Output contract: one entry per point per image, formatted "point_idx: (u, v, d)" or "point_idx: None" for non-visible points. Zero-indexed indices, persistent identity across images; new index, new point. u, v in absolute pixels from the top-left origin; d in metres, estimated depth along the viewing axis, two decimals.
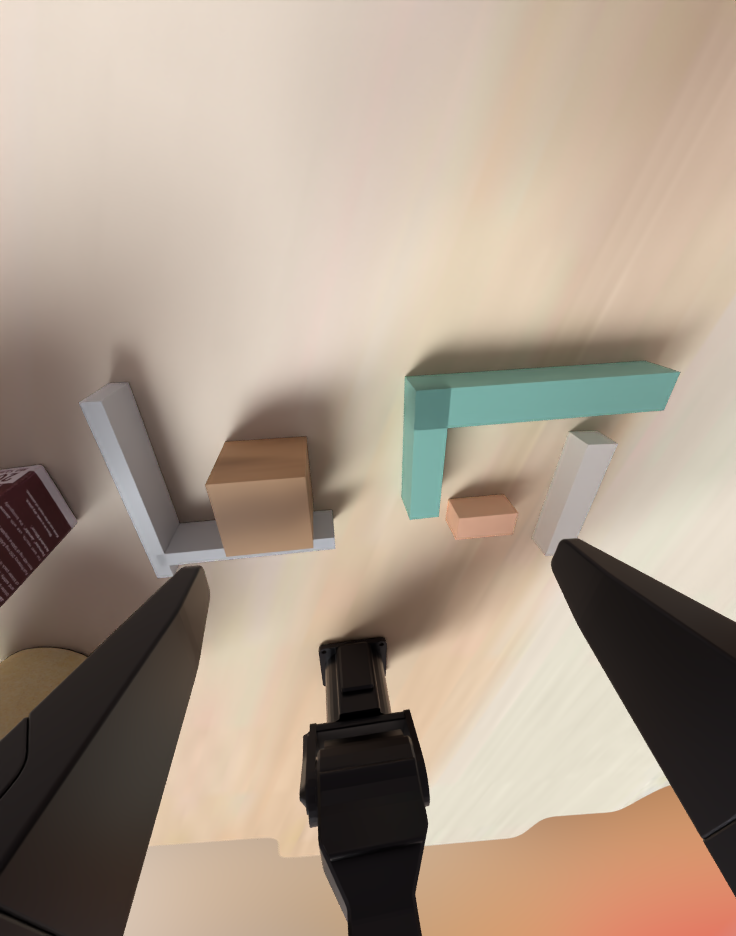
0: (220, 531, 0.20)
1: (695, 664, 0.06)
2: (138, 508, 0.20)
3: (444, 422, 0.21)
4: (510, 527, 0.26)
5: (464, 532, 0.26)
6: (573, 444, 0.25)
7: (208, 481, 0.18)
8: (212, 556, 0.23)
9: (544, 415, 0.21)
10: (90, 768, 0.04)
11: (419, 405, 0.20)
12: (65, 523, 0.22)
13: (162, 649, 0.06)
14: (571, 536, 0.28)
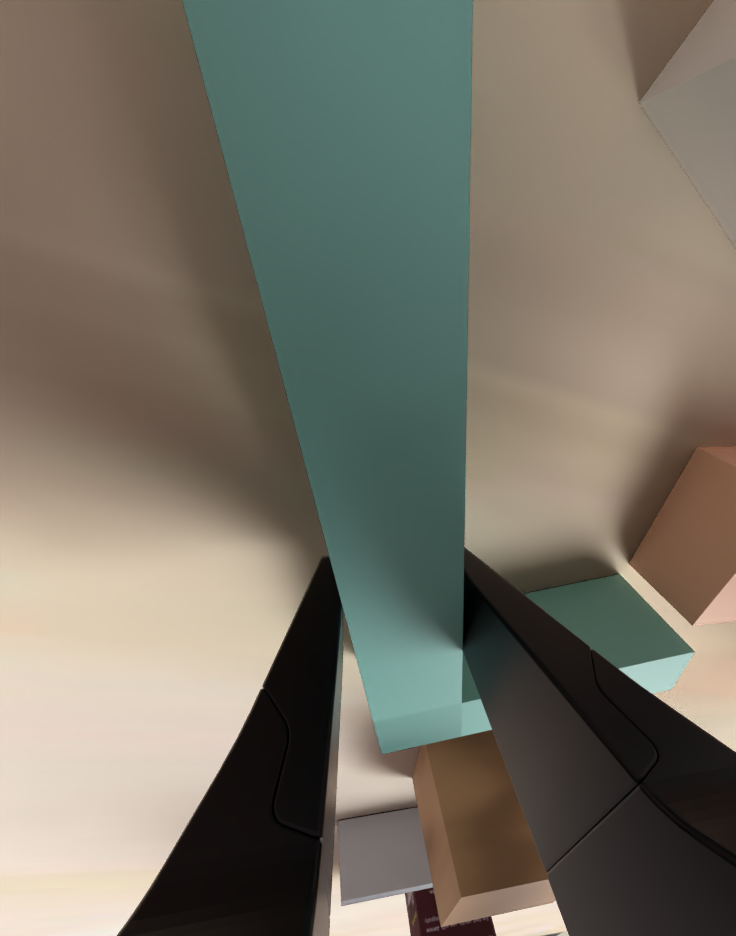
0: (511, 911, 0.15)
1: (532, 686, 0.06)
2: None
3: (448, 709, 0.10)
4: None
5: None
6: (705, 114, 0.05)
7: None
8: None
9: (447, 540, 0.06)
10: (332, 734, 0.05)
11: (410, 744, 0.10)
12: None
13: (341, 630, 0.06)
14: None
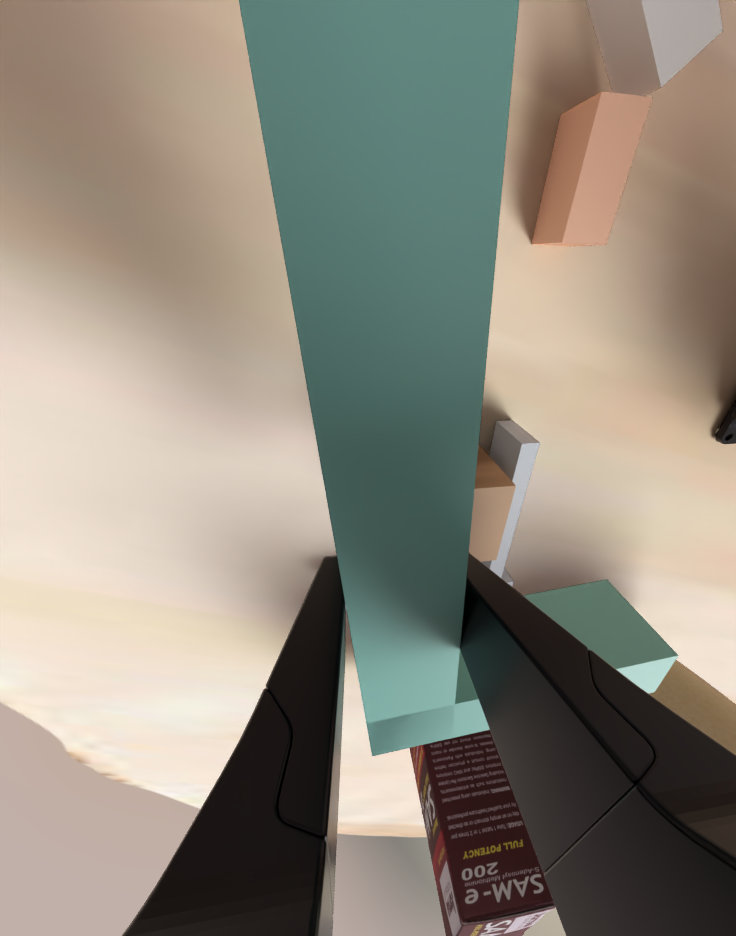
0: None
1: (529, 686, 0.06)
2: None
3: (440, 711, 0.10)
4: (631, 108, 0.13)
5: (596, 227, 0.14)
6: None
7: None
8: (502, 553, 0.22)
9: (453, 540, 0.06)
10: (336, 734, 0.05)
11: (401, 745, 0.10)
12: None
13: (343, 630, 0.06)
14: None
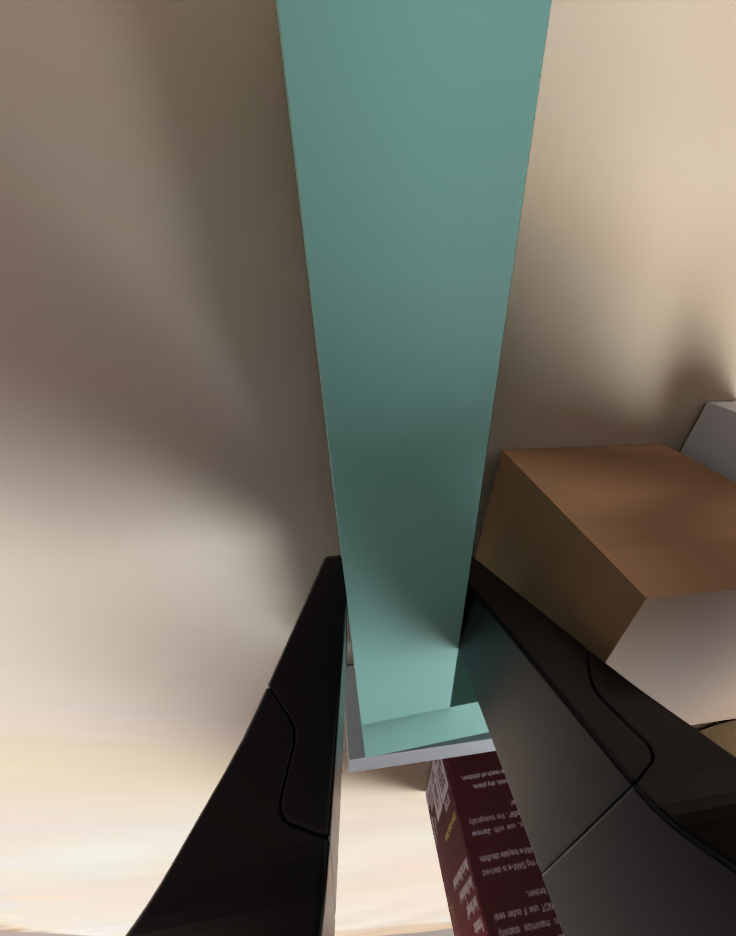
0: None
1: (528, 686, 0.06)
2: None
3: (435, 713, 0.10)
4: None
5: None
6: None
7: None
8: None
9: (457, 544, 0.06)
10: (338, 733, 0.05)
11: (395, 748, 0.10)
12: None
13: (345, 630, 0.07)
14: None
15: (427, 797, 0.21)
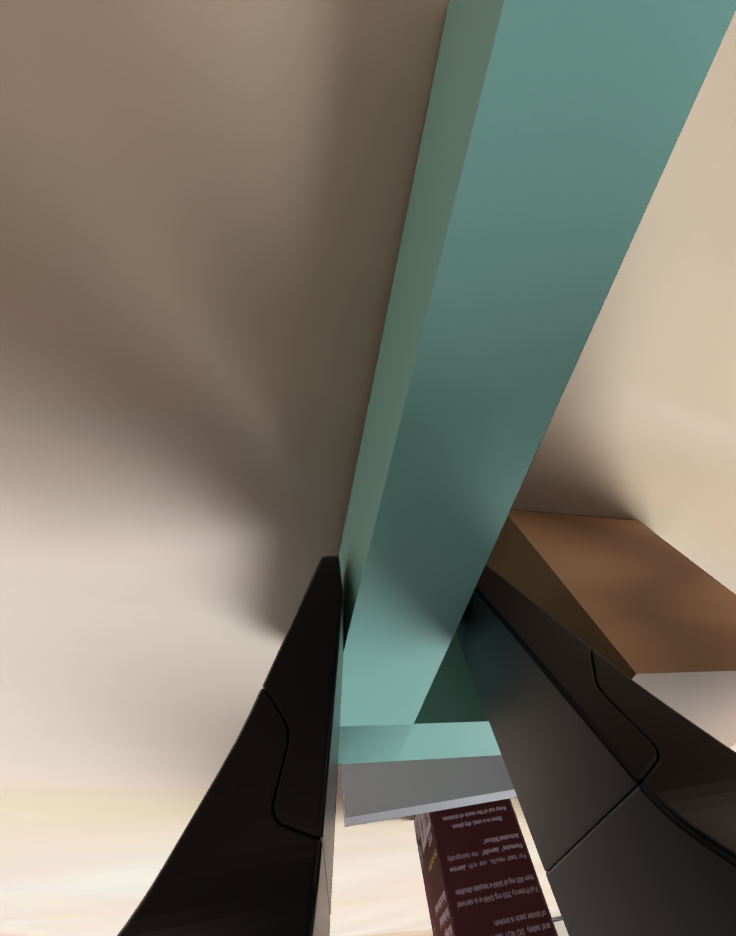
0: None
1: (532, 686, 0.06)
2: (498, 794, 0.15)
3: (398, 727, 0.10)
4: None
5: None
6: None
7: None
8: None
9: (475, 554, 0.07)
10: (333, 734, 0.05)
11: (347, 759, 0.10)
12: None
13: (341, 630, 0.06)
14: None
15: (415, 826, 0.24)
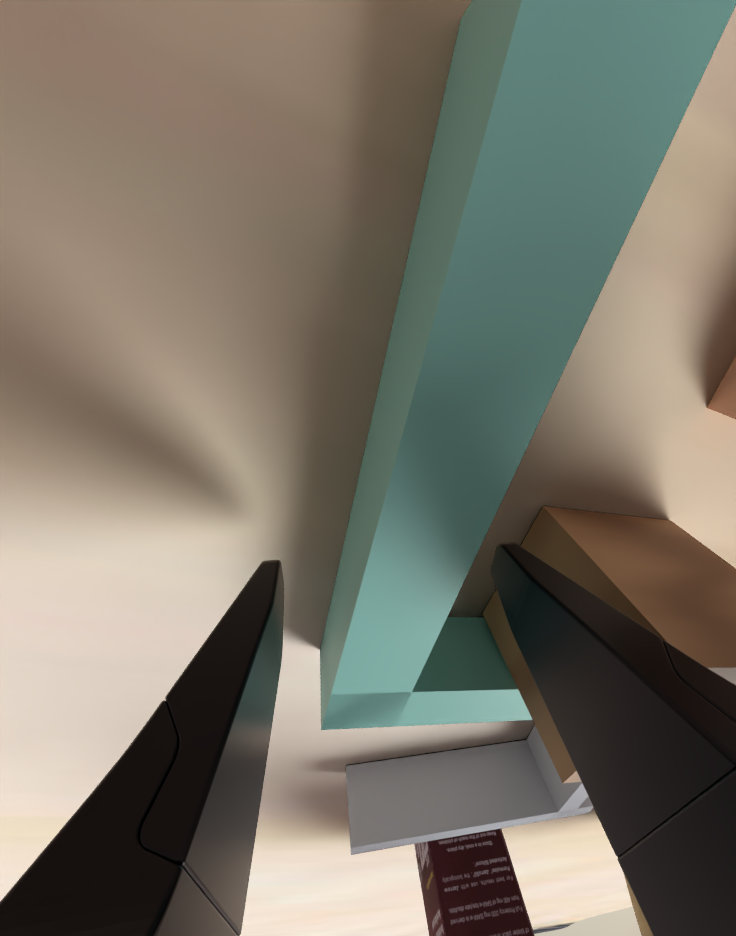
0: None
1: (606, 676, 0.06)
2: (485, 826, 0.17)
3: (398, 695, 0.10)
4: None
5: None
6: None
7: (557, 767, 0.09)
8: None
9: (471, 537, 0.08)
10: (232, 748, 0.05)
11: (350, 724, 0.11)
12: None
13: (265, 638, 0.06)
14: None
15: (415, 845, 0.26)
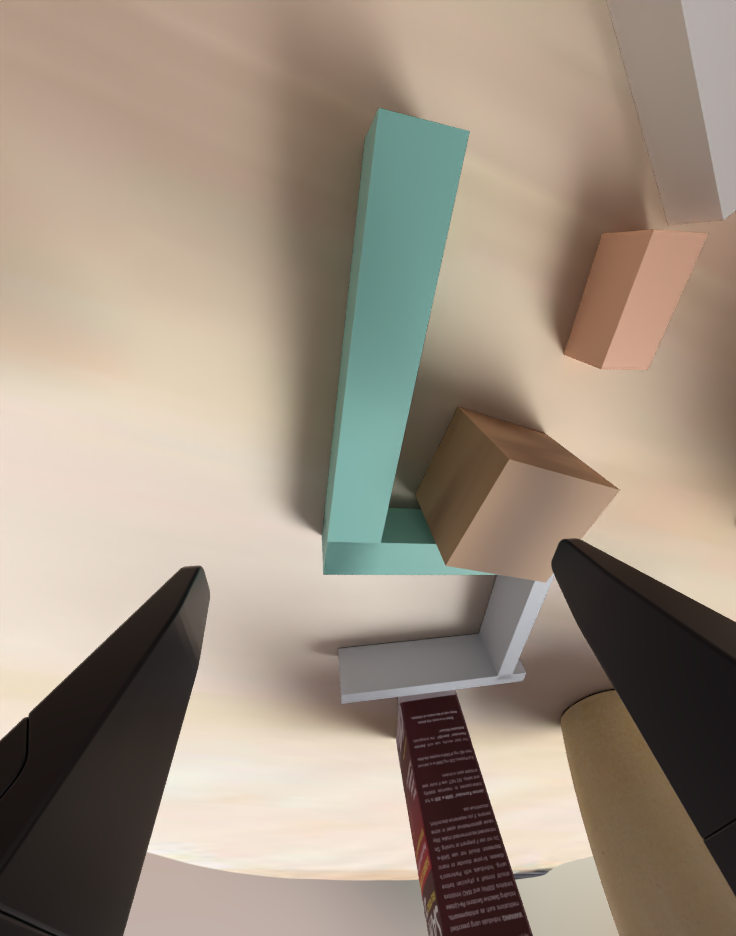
0: (510, 575, 0.15)
1: (695, 664, 0.06)
2: (442, 685, 0.22)
3: (371, 545, 0.16)
4: (685, 244, 0.12)
5: (639, 354, 0.13)
6: None
7: (444, 558, 0.14)
8: (516, 649, 0.21)
9: (399, 419, 0.13)
10: (90, 768, 0.04)
11: (342, 570, 0.17)
12: (449, 698, 0.27)
13: (162, 648, 0.06)
14: None
15: (396, 741, 0.31)
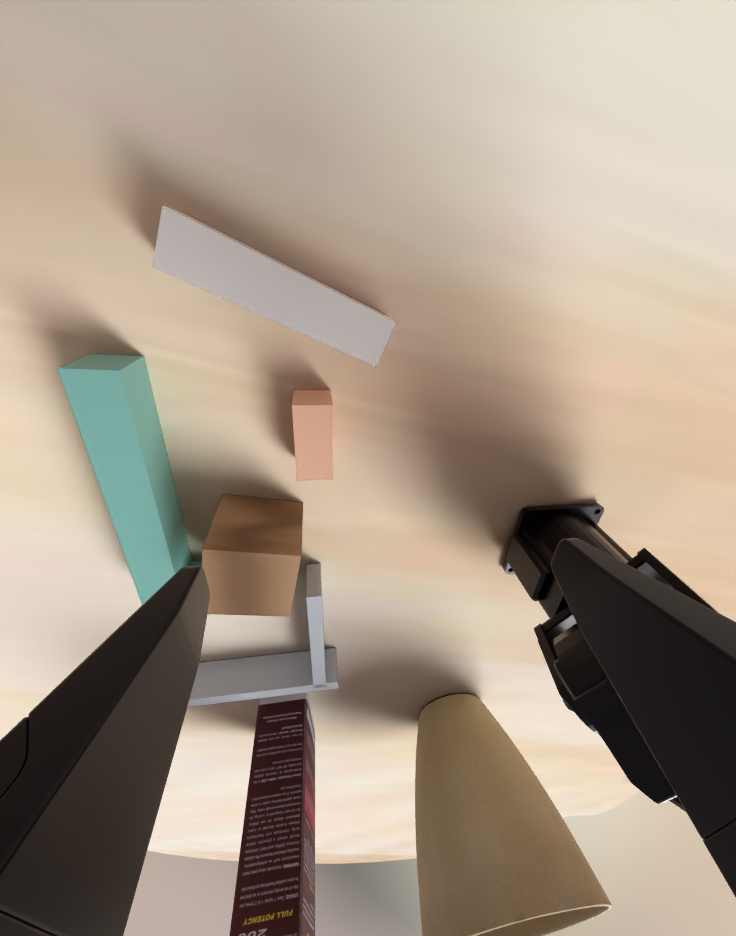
0: (257, 614, 0.21)
1: (695, 664, 0.06)
2: (268, 692, 0.29)
3: None
4: (318, 411, 0.18)
5: (321, 471, 0.20)
6: None
7: None
8: (319, 664, 0.28)
9: (153, 517, 0.19)
10: (90, 768, 0.04)
11: None
12: (298, 701, 0.33)
13: (162, 649, 0.06)
14: (354, 316, 0.16)
15: None
